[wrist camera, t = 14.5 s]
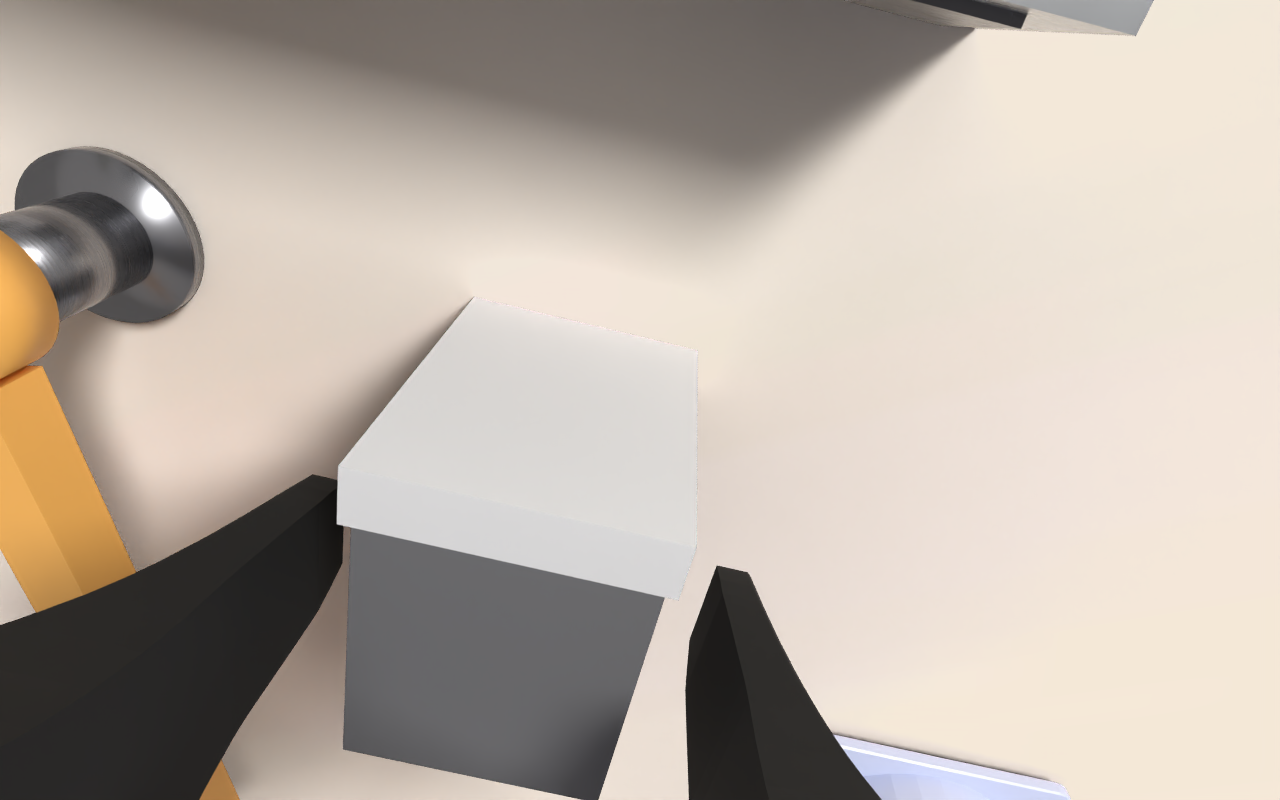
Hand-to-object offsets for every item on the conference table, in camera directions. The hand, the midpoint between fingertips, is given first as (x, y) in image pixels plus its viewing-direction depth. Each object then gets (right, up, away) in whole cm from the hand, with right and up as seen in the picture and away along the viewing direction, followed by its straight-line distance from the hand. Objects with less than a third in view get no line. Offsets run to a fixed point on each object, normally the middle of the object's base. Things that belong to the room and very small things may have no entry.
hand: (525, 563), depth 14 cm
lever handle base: (-9, +7, +1) cm, 11 cm away
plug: (0, +1, +4) cm, 4 cm away
